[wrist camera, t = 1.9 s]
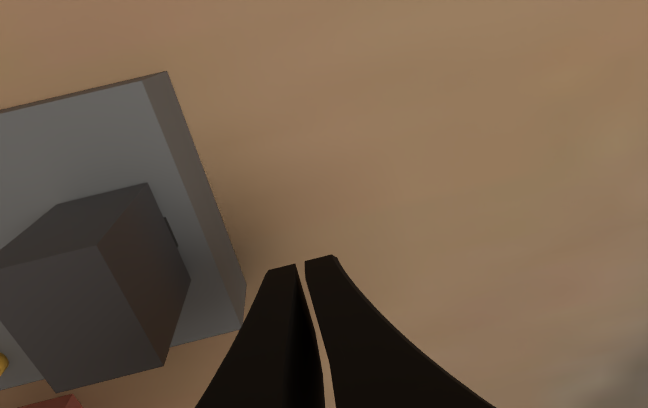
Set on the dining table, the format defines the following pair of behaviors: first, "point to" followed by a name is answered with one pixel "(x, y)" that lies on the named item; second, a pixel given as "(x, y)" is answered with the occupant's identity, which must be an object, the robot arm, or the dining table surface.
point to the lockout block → (57, 403)
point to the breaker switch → (94, 288)
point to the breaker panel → (116, 173)
